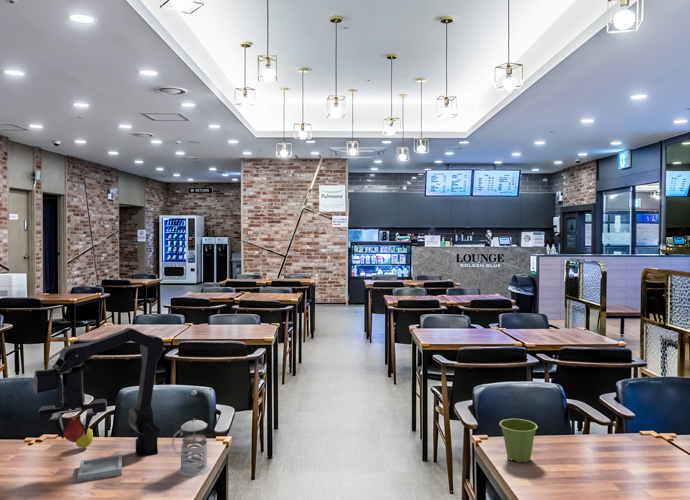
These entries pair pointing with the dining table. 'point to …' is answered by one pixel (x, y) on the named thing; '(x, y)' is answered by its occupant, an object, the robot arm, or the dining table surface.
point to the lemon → (85, 439)
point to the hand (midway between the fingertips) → (74, 436)
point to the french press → (193, 449)
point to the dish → (100, 468)
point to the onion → (73, 430)
